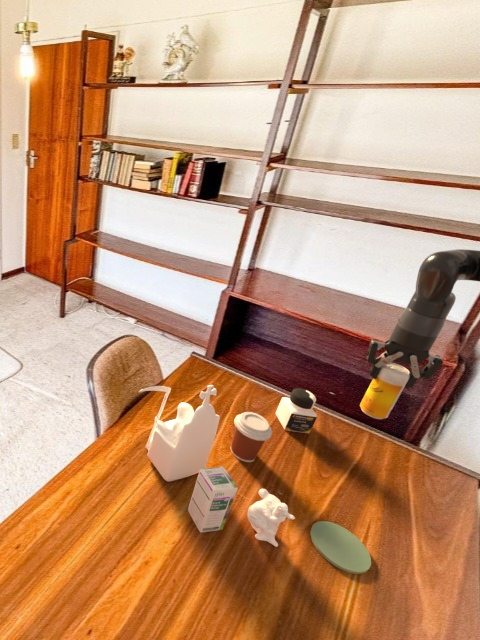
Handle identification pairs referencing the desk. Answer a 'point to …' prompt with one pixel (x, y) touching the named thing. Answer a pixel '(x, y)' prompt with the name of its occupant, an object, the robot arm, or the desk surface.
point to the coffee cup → (249, 435)
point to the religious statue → (183, 437)
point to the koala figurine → (267, 516)
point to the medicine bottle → (297, 411)
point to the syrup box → (212, 499)
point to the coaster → (340, 547)
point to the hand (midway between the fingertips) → (389, 381)
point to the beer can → (384, 391)
